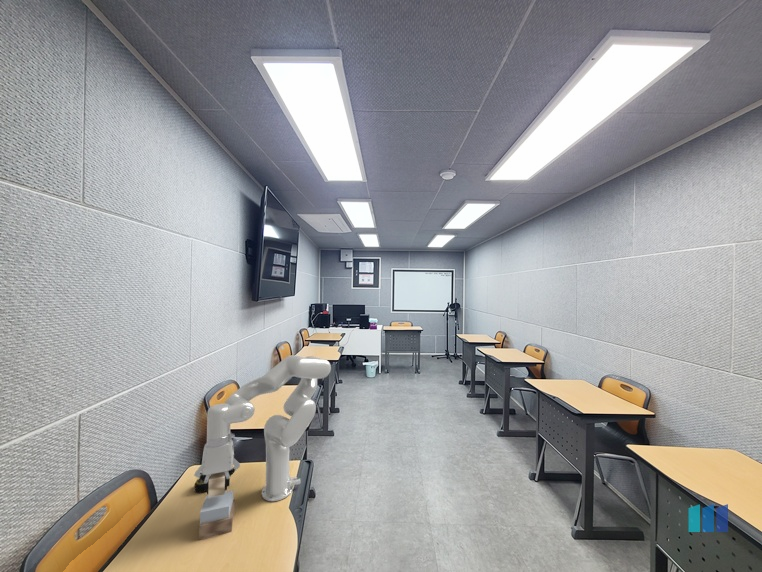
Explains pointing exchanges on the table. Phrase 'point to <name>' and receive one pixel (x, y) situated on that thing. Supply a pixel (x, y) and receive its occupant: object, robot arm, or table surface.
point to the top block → (216, 507)
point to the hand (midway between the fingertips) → (217, 489)
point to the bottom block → (217, 526)
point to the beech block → (216, 484)
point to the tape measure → (199, 485)
